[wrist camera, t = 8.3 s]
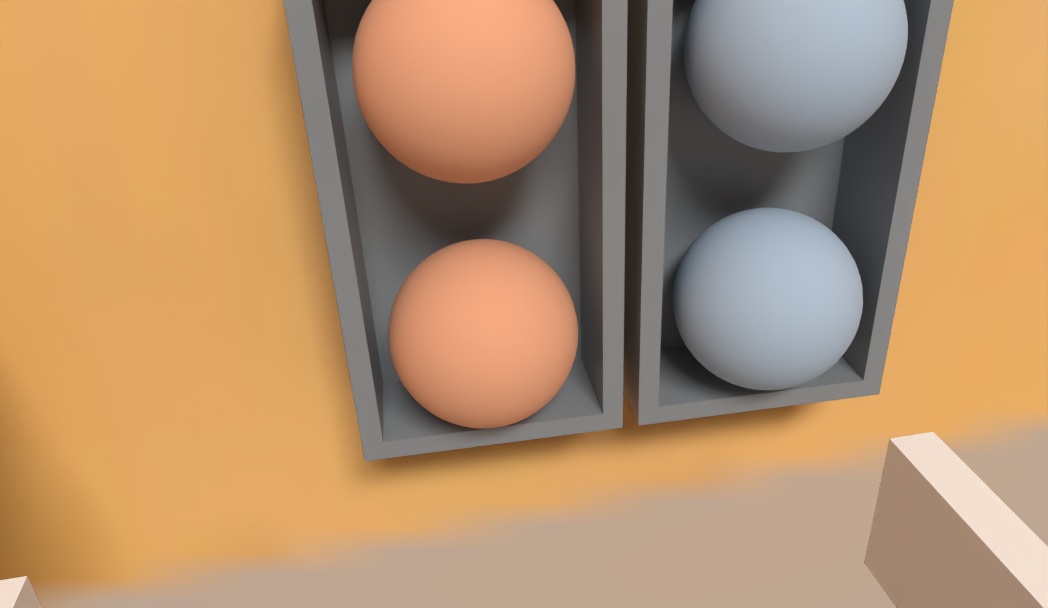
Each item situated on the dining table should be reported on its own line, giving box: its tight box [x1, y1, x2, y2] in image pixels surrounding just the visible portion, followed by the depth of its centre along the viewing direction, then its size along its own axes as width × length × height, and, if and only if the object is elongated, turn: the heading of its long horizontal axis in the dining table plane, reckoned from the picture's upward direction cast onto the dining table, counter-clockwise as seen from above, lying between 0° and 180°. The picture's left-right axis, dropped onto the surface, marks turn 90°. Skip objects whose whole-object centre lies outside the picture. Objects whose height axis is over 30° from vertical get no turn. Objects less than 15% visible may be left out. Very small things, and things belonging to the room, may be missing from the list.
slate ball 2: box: [673, 207, 863, 390], centre depth 20 cm, size 4×4×4 cm
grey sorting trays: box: [283, 0, 954, 461], centre depth 19 cm, size 13×12×3 cm
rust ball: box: [352, 0, 575, 184], centre depth 17 cm, size 4×4×4 cm
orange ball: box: [388, 239, 578, 429], centre depth 20 cm, size 4×4×4 cm
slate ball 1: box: [684, 0, 908, 152], centre depth 17 cm, size 4×4×4 cm
